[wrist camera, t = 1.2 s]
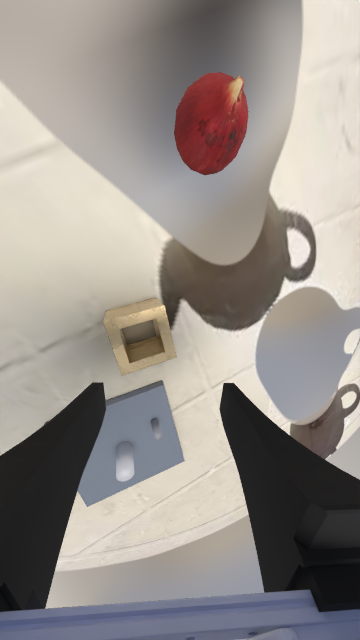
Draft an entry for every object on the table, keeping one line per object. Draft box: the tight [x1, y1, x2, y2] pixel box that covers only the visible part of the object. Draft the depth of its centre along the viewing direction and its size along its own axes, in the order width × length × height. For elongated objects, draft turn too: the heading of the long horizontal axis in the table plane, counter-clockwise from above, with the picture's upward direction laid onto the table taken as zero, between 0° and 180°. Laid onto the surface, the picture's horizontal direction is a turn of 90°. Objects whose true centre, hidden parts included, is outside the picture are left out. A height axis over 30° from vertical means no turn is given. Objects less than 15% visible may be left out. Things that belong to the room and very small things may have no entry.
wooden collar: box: [103, 298, 176, 376], centre depth 21 cm, size 6×7×4 cm
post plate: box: [45, 381, 184, 507], centre depth 24 cm, size 14×14×4 cm
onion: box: [174, 72, 248, 175], centre depth 16 cm, size 6×6×8 cm
